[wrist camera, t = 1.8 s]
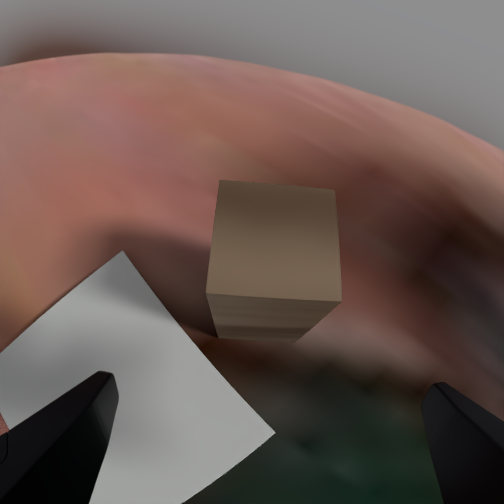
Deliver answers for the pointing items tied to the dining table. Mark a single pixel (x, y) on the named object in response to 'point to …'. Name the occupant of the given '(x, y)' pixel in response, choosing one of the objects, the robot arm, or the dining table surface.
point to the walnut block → (272, 260)
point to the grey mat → (133, 388)
